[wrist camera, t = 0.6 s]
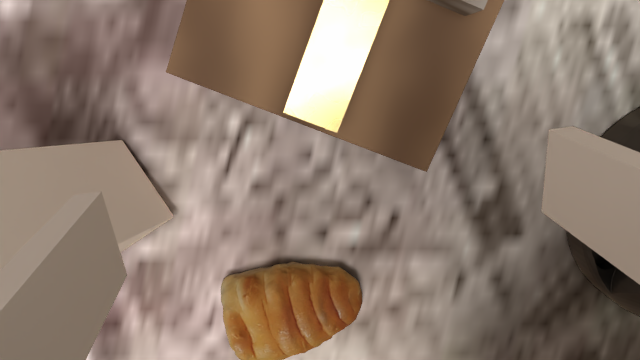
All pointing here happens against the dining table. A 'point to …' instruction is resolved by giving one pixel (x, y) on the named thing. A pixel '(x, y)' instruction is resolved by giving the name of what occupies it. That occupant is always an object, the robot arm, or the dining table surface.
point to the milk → (74, 191)
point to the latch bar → (334, 60)
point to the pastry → (287, 308)
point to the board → (375, 78)
